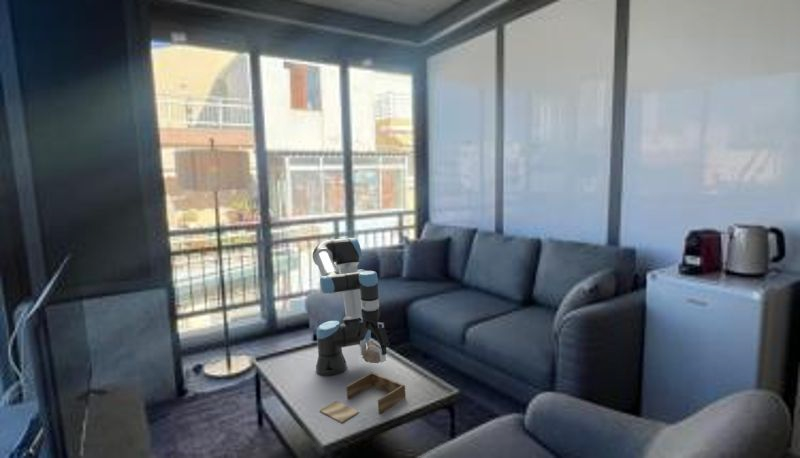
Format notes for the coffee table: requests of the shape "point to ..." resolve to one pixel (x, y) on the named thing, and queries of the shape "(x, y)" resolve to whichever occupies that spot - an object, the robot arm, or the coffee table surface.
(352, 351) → the coffee table surface
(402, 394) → the brown open u-shaped frame
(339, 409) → the mat
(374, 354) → the mineral specimen
